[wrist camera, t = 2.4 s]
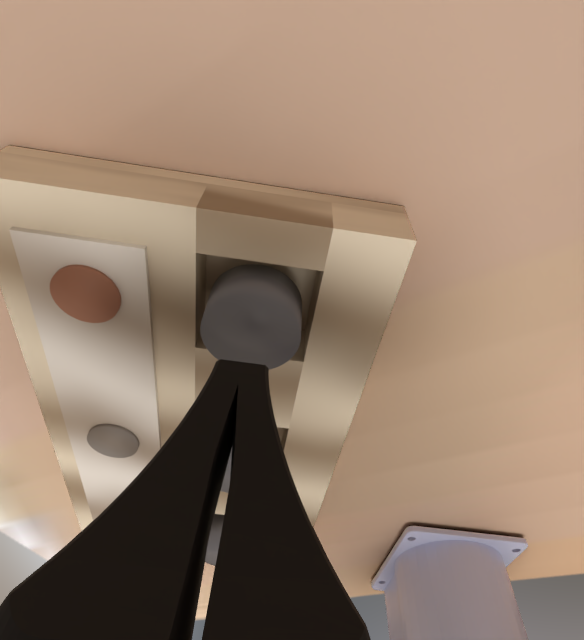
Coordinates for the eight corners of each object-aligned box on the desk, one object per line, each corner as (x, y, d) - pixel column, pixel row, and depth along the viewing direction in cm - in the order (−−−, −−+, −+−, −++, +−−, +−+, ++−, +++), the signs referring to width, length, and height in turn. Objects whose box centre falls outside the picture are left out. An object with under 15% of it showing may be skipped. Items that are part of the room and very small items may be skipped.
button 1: (294, 343, 16) (293, 376, 15) (208, 332, 16) (199, 364, 15) (309, 271, 14) (308, 302, 13) (211, 257, 14) (200, 287, 13)
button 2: (256, 540, 26) (252, 570, 25) (202, 534, 26) (196, 564, 25) (261, 513, 24) (258, 544, 23) (203, 507, 24) (197, 538, 23)
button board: (299, 528, 29) (298, 574, 27) (101, 506, 28) (83, 551, 26) (404, 206, 15) (419, 247, 13) (8, 145, 14) (-47, 178, 12)
